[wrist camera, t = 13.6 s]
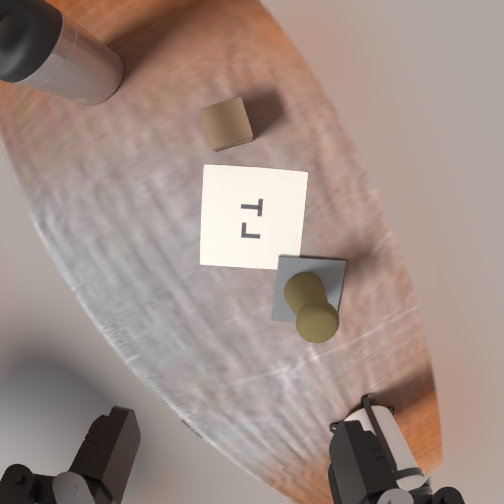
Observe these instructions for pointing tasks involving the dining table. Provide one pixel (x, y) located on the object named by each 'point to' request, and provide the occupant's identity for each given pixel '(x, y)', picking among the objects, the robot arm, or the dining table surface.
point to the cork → (311, 307)
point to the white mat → (251, 215)
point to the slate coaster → (323, 268)
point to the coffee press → (387, 450)
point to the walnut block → (226, 124)
